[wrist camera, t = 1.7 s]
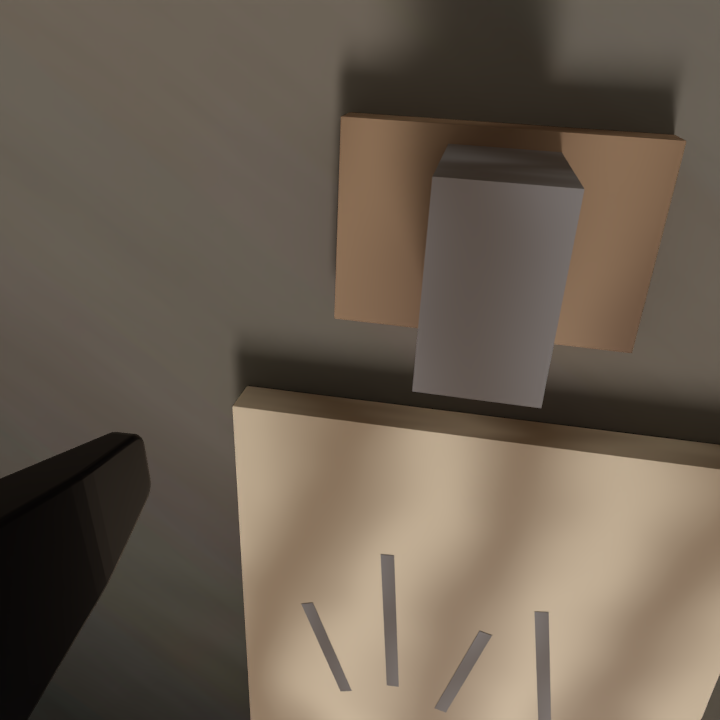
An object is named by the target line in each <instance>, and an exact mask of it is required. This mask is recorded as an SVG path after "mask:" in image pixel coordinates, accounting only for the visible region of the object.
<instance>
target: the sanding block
mask: <svg viewBox="0 0 720 720" xmlns="http://www.w3.org/2000/svg"><path fill="white" fill-rule="evenodd" d="M685 145H686V141H685V140H683V139H681V138H679V137H678V136H676V135H669V134H655V133H641V132H626V131H612V130H598V129H583V128H569V127H554V126H540V125H526V124H511V123H497V122H482V121H468V120H454V119H439V118H425V117H410V116H396V115H382V114H367V113H353V112H350V113H348V114H345V115H343V116H341V131H340V162H339V193H338V224H337V255H336V287H335V318H336V319H344V320H353V321H361V322H370V323H379V324H387V325H396V326H404V327H413V328H418V335H417V345H416V356H415V366H414V377H413V387H412V391H413V392H421V393H428V394H436V395H444V396H451V397H459V398H466V399H474V400H482V401H489V402H497V403H504V404H512V405H520V406H527V407H535V408H541V407H542V402H543V397H544V392H545V387H546V382H547V377H548V372H549V367H550V362H551V357H552V351H553V346H554V344H558V345H567V346H575V347H584V348H592V349H601V350H609V351H618V352H626V353H632V351H633V347H634V343H635V339H636V335H637V331H638V327H639V323H640V320H641V316H642V312H643V308H644V304H645V300H646V296H647V292H648V288H649V285H650V281H651V277H652V273H653V269H654V265H655V261H656V257H657V253H658V250H659V246H660V242H661V238H662V234H663V230H664V226H665V222H666V218H667V215H668V211H669V207H670V203H671V199H672V195H673V191H674V187H675V184H676V180H677V176H678V172H679V168H680V164H681V160H682V156H683V152H684V149H685Z"/></svg>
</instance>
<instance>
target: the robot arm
mask: <svg viewBox="0 0 720 720" xmlns="http://www.w3.org/2000/svg"><path fill="white" fill-rule="evenodd" d="M150 486H151V481H150V474H149V468H148V463H147V457H146V451H145V445H144V442H143V440H142V438H141V437H140V436H139V435H137V434H130V433H120V432H112V433H109V434H106V435H104V436H102V437H99V438H97V439H94V440H92V441H90V442H87V443H85V444H82V445H80V446H78V447H75V448H73V449H70V450H68V451H66V452H63V453H61V454H58V455H56V456H54V457H51V458H49V459H46V460H44V461H42V462H39V463H37V464H34V465H32V466H29V467H27V468H25V469H22V470H20V471H17V472H15V473H13V474H10V475H8V476H5V477H3V478H1V479H0V720H28V718H29V716H30V715H31V713H32V711H33V710H34V708H35V706H36V705H37V703H38V701H39V700H40V698H41V696H42V695H43V693H44V691H45V689H46V688H47V686H48V684H49V683H50V681H51V679H52V678H53V676H54V674H55V673H56V671H57V669H58V668H59V666H60V664H61V663H62V661H63V659H64V657H65V656H66V654H67V652H68V651H69V649H70V647H71V646H72V644H73V642H74V641H75V639H76V637H77V636H78V634H79V632H80V631H81V629H82V627H83V626H84V624H85V622H86V620H87V619H88V617H89V615H90V614H91V612H92V610H93V609H94V607H95V605H96V604H97V602H98V600H99V599H100V597H101V595H102V593H103V591H104V590H105V588H106V586H107V584H108V582H109V580H110V578H111V576H112V574H113V572H114V570H115V568H116V566H117V564H118V562H119V559H120V557H121V555H122V553H123V551H124V549H125V546H126V544H127V542H128V540H129V538H130V535H131V533H132V531H133V529H134V527H135V525H136V522H137V520H138V518H139V516H140V514H141V511H142V509H143V507H144V505H145V503H146V501H147V498H148V496H149V492H150Z"/></svg>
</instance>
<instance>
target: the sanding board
mask: <svg viewBox="0 0 720 720" xmlns="http://www.w3.org/2000/svg"><path fill="white" fill-rule="evenodd" d="M233 422H234V439H235V457H236V474H237V491H238V508H239V525H240V542H241V559H242V577H243V594H244V611H245V628H246V645H247V662H248V680H249V697H250V714H251V720H701V718H702V716H703V713H704V711H705V709H706V706H707V704H708V701H709V699H710V696H711V694H712V691H713V689H714V687H715V684H716V682H717V679H718V677H719V674H720V445H717V444H709V443H701V442H693V441H685V440H677V439H669V438H661V437H653V436H645V435H637V434H629V433H621V432H613V431H605V430H597V429H589V428H581V427H573V426H565V425H557V424H549V423H541V422H532V421H524V420H516V419H508V418H500V417H492V416H484V415H476V414H468V413H460V412H452V411H444V410H436V409H428V408H420V407H412V406H404V405H396V404H388V403H380V402H372V401H364V400H356V399H348V398H340V397H332V396H324V395H316V394H308V393H300V392H292V391H284V390H276V389H268V388H260V387H252V386H247V387H246V388H245V390H244V391H243V392H242V394H241V395H240V397H239V398H238V399H237V401H236V402H235V403H234V405H233Z"/></svg>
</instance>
